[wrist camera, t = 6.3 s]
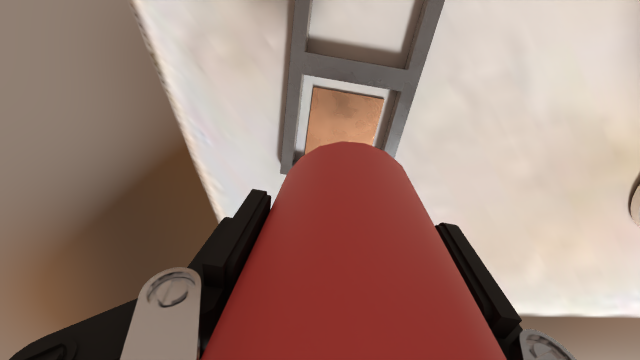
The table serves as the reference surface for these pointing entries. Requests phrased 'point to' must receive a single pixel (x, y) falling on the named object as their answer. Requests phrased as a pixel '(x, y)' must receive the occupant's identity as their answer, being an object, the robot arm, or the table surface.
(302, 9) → the gray rectangular frame
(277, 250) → the beer can
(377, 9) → the table surface
